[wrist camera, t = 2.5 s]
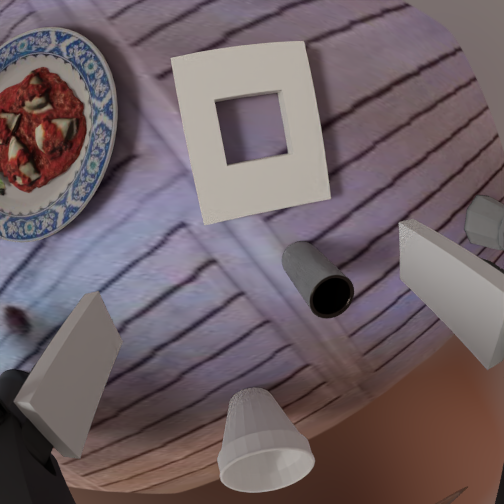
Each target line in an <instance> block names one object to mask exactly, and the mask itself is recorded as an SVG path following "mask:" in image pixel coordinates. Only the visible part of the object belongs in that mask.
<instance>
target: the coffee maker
mask: <svg viewBox="0 0 504 504" xmlns="http://www.w3.org/2000/svg"><path fill="white" fill-rule="evenodd" d="M464 230H465V232H466V234H467V236H468V239H469V241H470V243H472V244H477V245H481V246H485V247H489V248H493V249H497V250H504V204H502V203H500V202H498V201H497V200H495V199H493V198H491V197H489V196H484V195H477V196H476V197H475V199H474V200H473V201H472V203H471V204H470V206H469V207H468V208H467V213H466V221H465V228H464Z"/></svg>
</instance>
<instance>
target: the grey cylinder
mask: <svg viewBox="0 0 504 504" xmlns="http://www.w3.org/2000/svg"><path fill="white" fill-rule="evenodd" d="M282 265H283V268H284V270H285V272H286V273H287V275H288V276H289V278H290V279H291V281H292V282H293V284H294V285H295V287H296V288H297V290H298V291H299V293H300V294H301V296H302V297H303V299H304V300H305V302H306V303H307V305H308V306H309V308H310V309H311V311H312V312H313V313H314V314H315V315H316V316H318V317H321V318H333V317H336V316H338V315H340V314H342V313H343V312H344V311H345V310H346V309H347V308H348V307H349V306H350V304H351V302H352V300H353V296H354V287H353V284H352V282H351V281H350V279H349V278H348V277H346V276H345V275H344V274H343V273H342V272H341V271H340V270H339V269H338V268H337V267H336V266H335V265H334V264H333V263H331V262H330V261H329V260H328V259H327V258H326V257H325V256H324V255H323V254H322V253H321V252H320V251H318V250H317V249H316V248H315V247H314V246H313V245H311V244H310V243H308V242H304V241H299V242H295V243H293V244H291V245H290V246H289V247H288V248H287V249H286V250H285V251H284V253H283V256H282Z"/></svg>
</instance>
